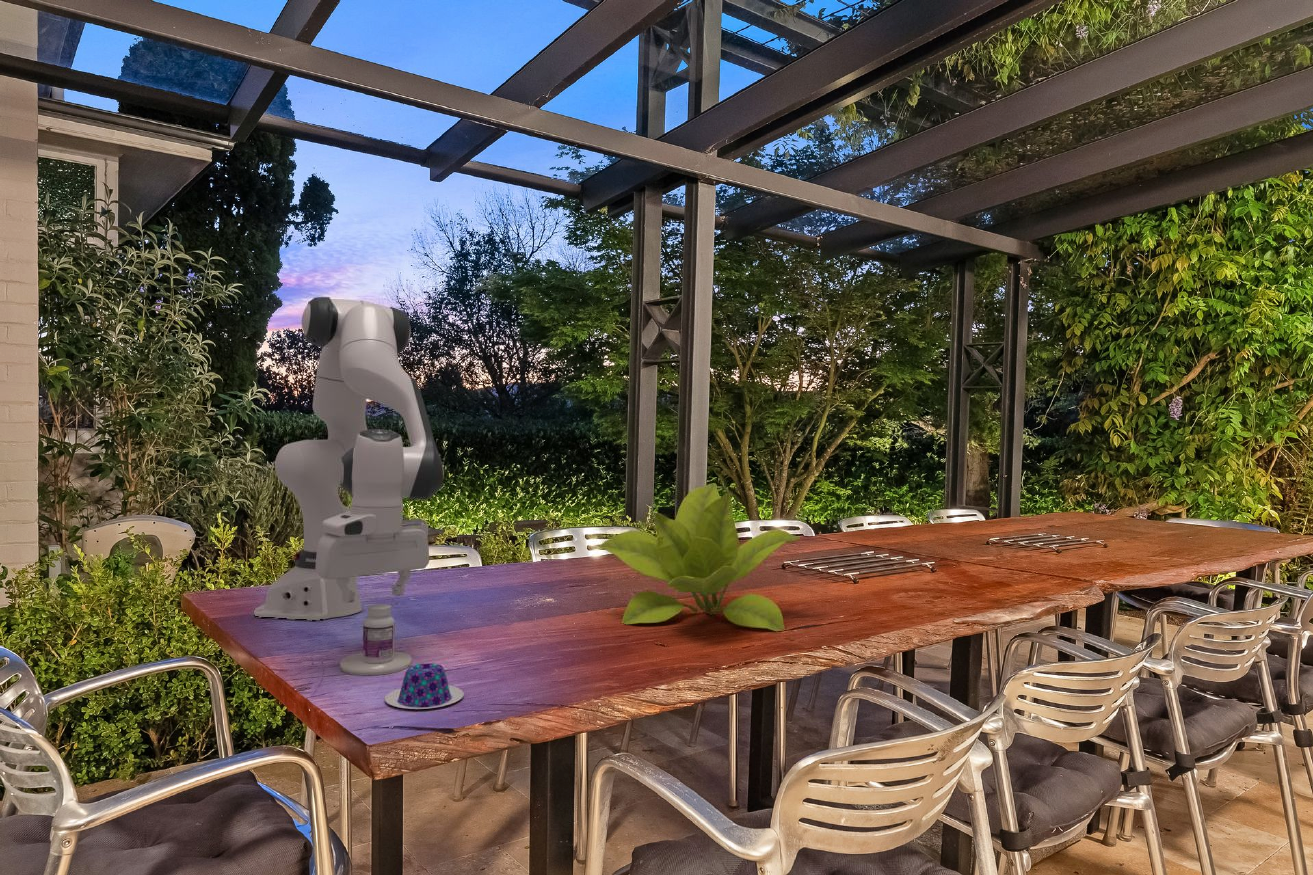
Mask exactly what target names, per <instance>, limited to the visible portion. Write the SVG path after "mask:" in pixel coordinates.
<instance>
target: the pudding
mask: <svg viewBox="0 0 1313 875" xmlns="http://www.w3.org/2000/svg"><path fill="white" fill-rule="evenodd" d="M464 694H465V693H464V691H463V690H462V689H460V688H459V687H456V686H452V685H449V682H448V679H447V673H446V670H445V668H444V667H443V666H442V665H441V664H436V663H431V662H430V663H429V662H428V663H417V664H414V665H411V666H410V667H408V668H407V669H406V670H405V673H404V677H403V680H402V684H401V688H397V689H394V690H393V691H391V692H389V693H387V694H386V695H385V697H384V701H385V702H386V704H388V705H391V706H393V707H397V708H401V709H409V710H425V709H435V708H441V707H445V706H449V705H452V704H454V703H456V702H458V701H460V700H461V699H463V697H464V696H465V695H464Z"/></svg>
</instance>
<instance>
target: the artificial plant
mask: <svg viewBox="0 0 1313 875" xmlns="http://www.w3.org/2000/svg"><path fill="white" fill-rule="evenodd" d="M732 502H733V501H732V498H731V494H730V493H729V492H727V493H725V494H723V495H721V496H720V493H719V491H718V485H717V484H716V483H715V482H713V483H709V484H705V485H704V486H700V487H696V488H695V489H692V490H690V491H689V492H688V493H687V495H686V496H684V498H683V500H682V501H681V503H680V506H679V507H678V510H677V513H676V516H675V519H671V518H669V517H668V516H665V515H663V514H662V513H659V512H656V513H654V515H653V516H654V519H653V520H654V525H655V531H656V536H654V535H653V534H652V533H650V532H647V531H643V530H633V529H631V530H628V531H623V532H620V533H618V534H616V535H614V536H612V537H611V538H609V539H607V540H605V541H603V542H602V543H601V544H600V545H599V547H600V548H601V549H603V550H604V551H607V552H609V553H610V554H612V555H614V556H615V557H617V559H619V560H620V561H621V562H622V563H624V564H626V566H628V567H629V568H630V569H632V570H634V571H636V572H638V573H639V574H641V575H643V576H644V577H645V576H646V577H649V578H652V579H656V580H660V581H664V582H665V583H667V586H668V588H672V589H674V590H676V591H678V592H680V593H691V594H692V596H693V597H694V600H695V603H696V605H697V606H698V608H700V610H701V611H703V610H704V612H705V613H708V615H709V616H712V615H714V614H716V613H718V612H720V611H722V612H723V615H724V616H725V618H726V619H727V620H728V621H729V622H731V623H733V624H735V625H738V626H742V627H747V628H757V629H768V630H771V631H774V632H778V631H780V630H786V629H785V624H784V618H783V614H782V611H781V609H780V607H779V606H778V605H777V604H776V603H775V601H773V600H771V598H770V599H769V598H768V597H765V596H764V595H760V594H757V593H748V594H747V593H746V594H744V595H742V596H740V597H737V598H736V599H734V600H732V601H731V602H729V603H728V604H727V605H726V606H723V607H721V603H722V600H723V597H724V594H725V593H726V591H727V589H728V586H729V585H730V584H731V583H733V582H735V581H737V580H740V579H743V578H746V577H747V576H748V575H749V574H750V573H751V572H753V571H754V570H755V569H756V568H758V566H760V564H762V563H763V562H764V561H765V560H766V559H767V558H768V557H770V556H771V555H772V554H773V553H775V552H776V551H777V550H778V549H779V548H780V547H782V546H783V545H784V544H786V543H791V542H796V541H799V540H800V539H801V538H800V537H798V536H797V535H794V534H791V533H789V532H787V530H782V529H772V530H771V529H770V530H768V531H765V532H763V533H761V534H759V535H756V536H754V537H752V538H751V539H749V540H747V541H746V542H744V543H742V544H741V545H740V541H739V540H740V539H739V535H738V531H737V528H736V527H737V526H736V522H735V520H734V511H733V510H734V509H733V503H732ZM722 588H723V589H722ZM721 589H722V590H721ZM720 590H721V592H720V594H719V597H718V598H717V593H718V592H719V591H720ZM697 594H699V595H700V596H701V597H702V601H701V599H700V597H699V596H698V595H697ZM710 595H711V600H710V598H709V596H710ZM684 607H686V608H688V609H690V610H691V611H692V612H696V613H697V612H698V611H699V609H698V608H697V607H694V606H692V605H690V604H686V603H683V602H681V601H679V600H677V599H676V598H674V597H672V596H668V595H666V594H665V595H664V594H662V593H661V594H660V593H658V592H655V591H640V592H639V593H637V594H635V595H634V596H633V597H632V598H631V599H630V600H629V602H628V604H627V605H626V609H625V610H624V613H623V616H622V621H621V624H622V623H624V624H626V625H634V624H652V623H654V624H655V623H656V624H657V623H661V622H667V621H668V620H670V619H671V618H674V617H675V616H676V615H678V614H680V613H681V611H682V610H683V609H684Z"/></svg>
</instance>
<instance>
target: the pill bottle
mask: <svg viewBox="0 0 1313 875" xmlns="http://www.w3.org/2000/svg"><path fill="white" fill-rule="evenodd" d="M391 613H392V605H390V604H387V603H375V604H371V605H368V606H367V617H366V618H365V619H363V620H364V621H363V623H362V624H363V625H362V632H363V633H362V653H363V660H364V661H365V662H366V663H373V664H378V663H386V662H389V661H391V660H393V658H394V651H395V634H396V633H395V630H396V629H395V624H396V623H395V622H396V621H395V618H394V617H393V616H392V615H391Z"/></svg>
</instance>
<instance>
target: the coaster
mask: <svg viewBox="0 0 1313 875" xmlns="http://www.w3.org/2000/svg"><path fill="white" fill-rule="evenodd" d="M339 665H340V666H339V668H340V671H341V670H342V671H341V672H343V673H345V672H346V673H345V674H348V673H349V675H353V676H363V675H367V676H368V675H370V676H382V675H383V676H384V675H389V674H394V673H395V674H396V673H398V672H402V671H404V670H405V671H406V670H407V669H408V668H409V667H410V666H412V656H411V655H410V654H408V653H406V652H400V651H395V650H394V658H393V660H391V661H389V662H386V663H378V664H373V663H366V662H365V661H364V660H363V652H359V653H355V654H351V655H348V656H346V657H344V658H341V660H340V662H339Z"/></svg>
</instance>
